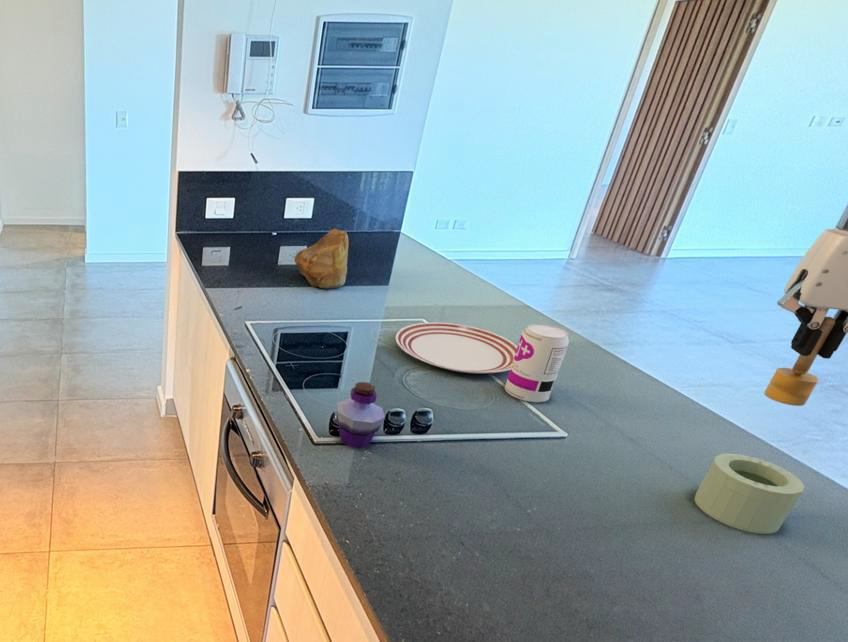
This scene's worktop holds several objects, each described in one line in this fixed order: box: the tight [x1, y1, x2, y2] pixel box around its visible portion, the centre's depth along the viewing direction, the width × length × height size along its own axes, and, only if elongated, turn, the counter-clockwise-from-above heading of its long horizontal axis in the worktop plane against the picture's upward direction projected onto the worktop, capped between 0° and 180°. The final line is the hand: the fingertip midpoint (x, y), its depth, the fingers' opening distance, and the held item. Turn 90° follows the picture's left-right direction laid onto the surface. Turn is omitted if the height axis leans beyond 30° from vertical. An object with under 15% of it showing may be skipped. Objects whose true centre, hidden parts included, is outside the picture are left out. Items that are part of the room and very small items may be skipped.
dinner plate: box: [395, 321, 518, 375], centre depth 147 cm, size 28×27×3 cm
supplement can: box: [504, 323, 570, 403], centre depth 127 cm, size 8×8×15 cm
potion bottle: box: [336, 381, 386, 449], centre depth 112 cm, size 9×9×12 cm
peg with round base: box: [763, 316, 835, 407], centre depth 88 cm, size 4×4×13 cm
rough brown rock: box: [294, 228, 350, 290], centre depth 195 cm, size 23×17×15 cm
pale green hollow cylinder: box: [694, 453, 805, 535], centre depth 95 cm, size 10×10×8 cm
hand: (809, 352), depth 87 cm, fingers closed on peg with round base, 1 cm apart
